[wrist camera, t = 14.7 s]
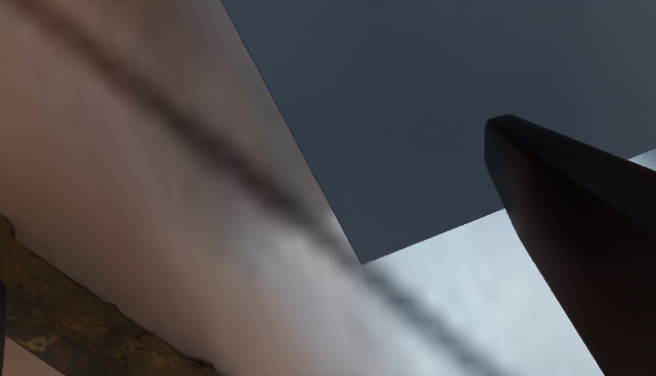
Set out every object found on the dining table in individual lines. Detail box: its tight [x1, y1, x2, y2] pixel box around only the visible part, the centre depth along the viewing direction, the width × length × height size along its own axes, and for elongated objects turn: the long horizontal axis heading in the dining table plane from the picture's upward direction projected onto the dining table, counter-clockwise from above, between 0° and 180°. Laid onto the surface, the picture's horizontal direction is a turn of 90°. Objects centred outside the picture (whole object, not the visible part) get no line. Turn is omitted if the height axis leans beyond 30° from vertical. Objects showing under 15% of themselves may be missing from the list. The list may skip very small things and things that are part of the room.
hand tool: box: [0, 215, 217, 376], centre depth 23 cm, size 19×4×5 cm, turn 52°
